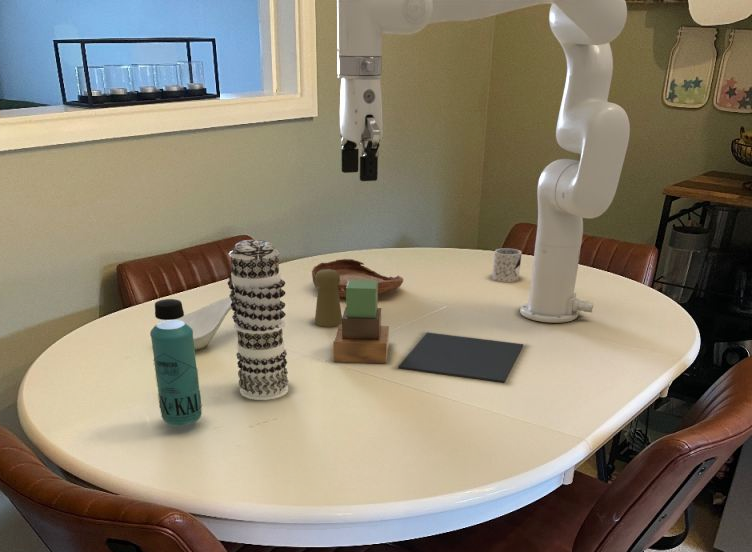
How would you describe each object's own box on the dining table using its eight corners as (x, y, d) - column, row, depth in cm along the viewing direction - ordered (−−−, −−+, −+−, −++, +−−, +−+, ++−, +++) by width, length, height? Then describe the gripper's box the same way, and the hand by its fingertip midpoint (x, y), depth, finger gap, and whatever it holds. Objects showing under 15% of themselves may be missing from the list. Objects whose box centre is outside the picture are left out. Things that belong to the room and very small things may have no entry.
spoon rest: (180, 361, 146) (175, 324, 142) (147, 345, 153) (141, 310, 149) (277, 332, 160) (275, 298, 156) (243, 319, 167) (240, 286, 163)
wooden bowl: (418, 288, 188) (419, 267, 185) (375, 309, 174) (375, 287, 171) (342, 274, 198) (342, 254, 195) (295, 293, 184) (294, 272, 181)
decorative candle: (268, 405, 130) (258, 253, 116) (226, 393, 134) (212, 245, 120) (300, 387, 136) (294, 241, 123) (259, 376, 140) (249, 234, 127)
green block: (377, 309, 148) (377, 280, 145) (375, 318, 144) (375, 288, 141) (349, 308, 149) (348, 279, 146) (346, 317, 144) (346, 287, 141)
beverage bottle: (165, 417, 125) (147, 295, 115) (206, 415, 126) (192, 294, 115) (159, 435, 120) (140, 308, 109) (202, 433, 120) (187, 307, 110)
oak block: (388, 345, 154) (389, 325, 152) (386, 363, 146) (386, 343, 144) (339, 343, 155) (338, 324, 153) (333, 361, 147) (333, 341, 144)
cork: (338, 327, 163) (338, 275, 157) (311, 325, 164) (309, 273, 158) (345, 318, 168) (344, 267, 162) (318, 316, 169) (317, 265, 163)
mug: (520, 282, 193) (523, 255, 189) (494, 282, 193) (496, 254, 189) (514, 271, 201) (517, 245, 198) (489, 271, 202) (491, 245, 198)
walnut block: (381, 328, 151) (381, 307, 149) (379, 340, 145) (379, 319, 143) (345, 326, 152) (345, 306, 149) (342, 339, 146) (341, 318, 144)
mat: (523, 346, 155) (523, 344, 154) (504, 382, 139) (504, 380, 138) (426, 334, 160) (427, 332, 160) (398, 368, 144) (398, 366, 144)
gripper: (399, 71, 126) (396, 183, 135) (362, 66, 140) (361, 168, 149) (356, 71, 124) (355, 185, 133) (323, 66, 138) (324, 170, 147)
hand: (359, 176), depth 141 cm, fingers open, 9 cm apart
